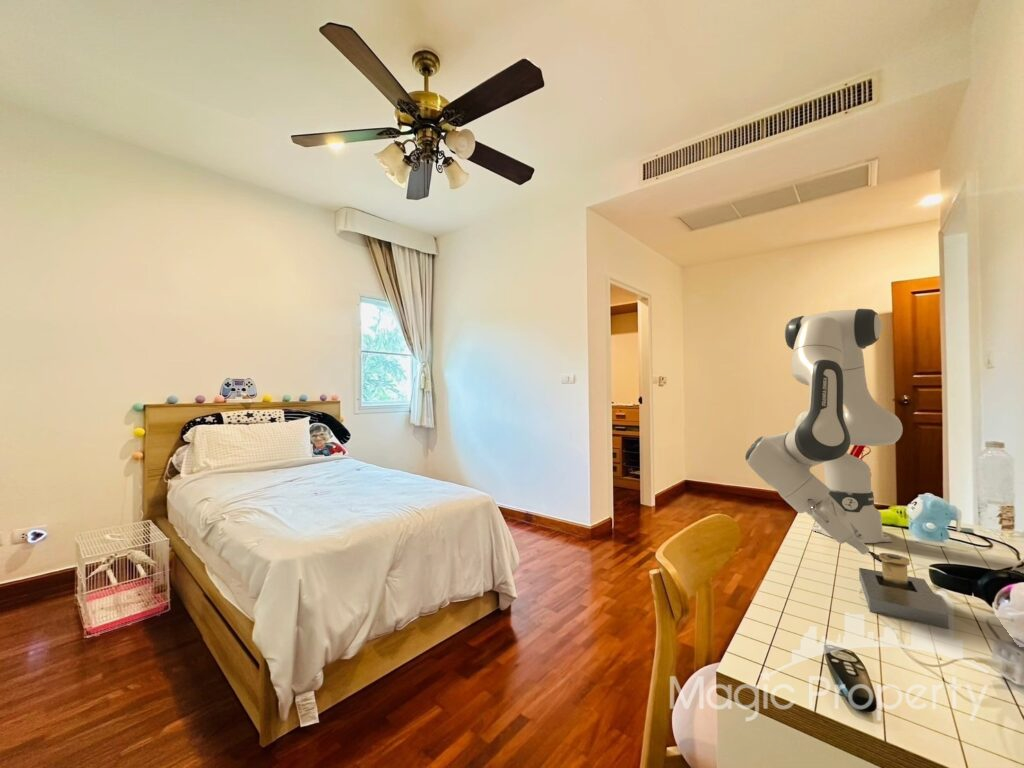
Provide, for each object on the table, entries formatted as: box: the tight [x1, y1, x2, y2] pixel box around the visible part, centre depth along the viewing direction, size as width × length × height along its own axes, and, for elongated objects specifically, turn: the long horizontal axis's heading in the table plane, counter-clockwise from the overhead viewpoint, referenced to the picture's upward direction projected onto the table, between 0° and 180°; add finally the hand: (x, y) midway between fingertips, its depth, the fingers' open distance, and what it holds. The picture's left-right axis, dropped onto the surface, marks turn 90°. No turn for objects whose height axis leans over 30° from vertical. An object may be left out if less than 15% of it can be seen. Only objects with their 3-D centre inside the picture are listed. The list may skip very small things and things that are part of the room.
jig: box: [858, 567, 950, 630], centre depth 86 cm, size 18×11×2 cm, turn 145°
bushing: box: [878, 552, 910, 590], centre depth 89 cm, size 5×5×8 cm
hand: (863, 545), depth 92 cm, fingers open, 8 cm apart
